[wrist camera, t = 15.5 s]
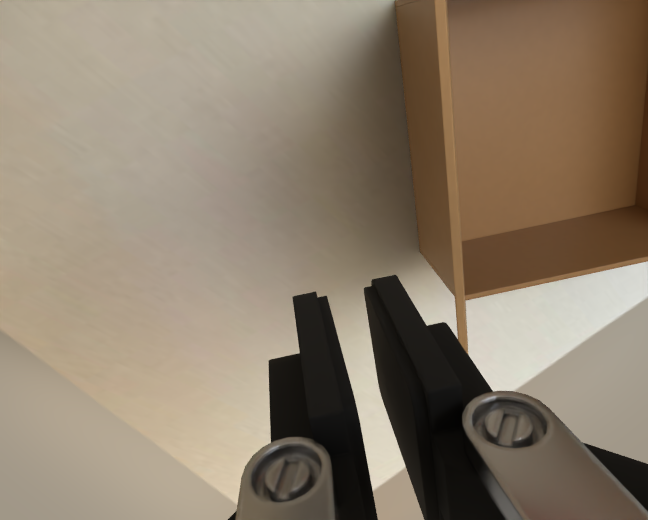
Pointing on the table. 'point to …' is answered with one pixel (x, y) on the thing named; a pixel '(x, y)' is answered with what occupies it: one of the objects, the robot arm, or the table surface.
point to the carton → (530, 137)
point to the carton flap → (451, 164)
